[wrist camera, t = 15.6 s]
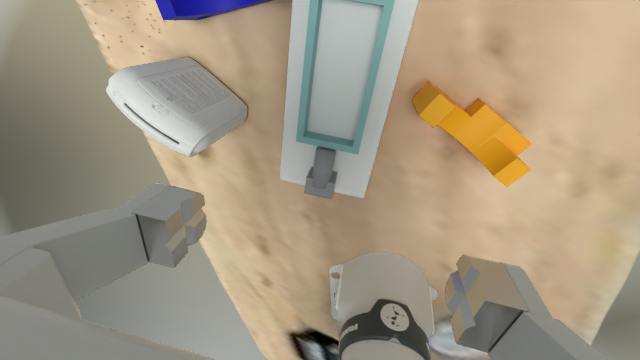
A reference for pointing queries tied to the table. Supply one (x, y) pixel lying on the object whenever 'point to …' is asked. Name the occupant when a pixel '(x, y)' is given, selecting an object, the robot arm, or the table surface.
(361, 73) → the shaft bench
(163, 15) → the blue curved cradle
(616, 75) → the table surface
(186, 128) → the photo printer
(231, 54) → the table surface
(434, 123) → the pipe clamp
